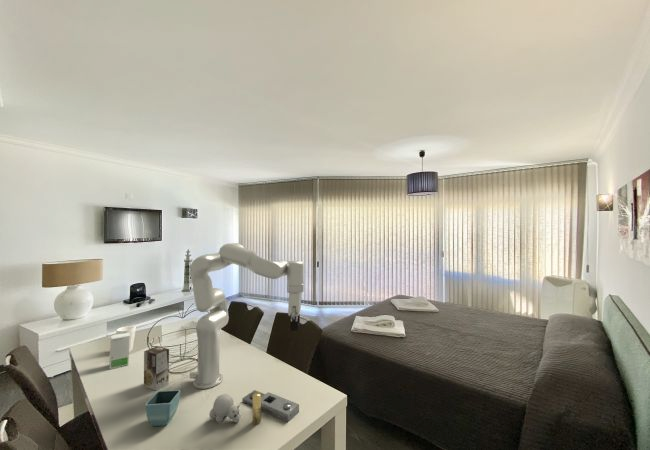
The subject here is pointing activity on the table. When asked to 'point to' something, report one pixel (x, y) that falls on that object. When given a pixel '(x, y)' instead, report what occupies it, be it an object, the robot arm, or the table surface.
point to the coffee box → (156, 367)
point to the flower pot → (162, 407)
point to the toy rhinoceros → (225, 409)
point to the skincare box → (119, 350)
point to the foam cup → (131, 331)
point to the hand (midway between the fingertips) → (295, 326)
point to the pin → (256, 408)
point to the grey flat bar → (275, 405)
